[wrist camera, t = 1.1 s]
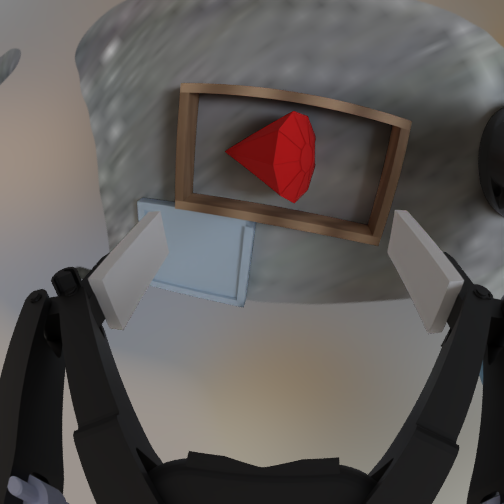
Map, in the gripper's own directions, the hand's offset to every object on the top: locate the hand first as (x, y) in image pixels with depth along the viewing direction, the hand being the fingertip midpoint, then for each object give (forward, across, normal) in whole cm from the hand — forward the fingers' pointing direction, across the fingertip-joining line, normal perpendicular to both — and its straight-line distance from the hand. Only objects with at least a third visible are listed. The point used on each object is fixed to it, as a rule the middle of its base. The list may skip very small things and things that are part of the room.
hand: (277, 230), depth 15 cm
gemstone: (+17, +1, 0) cm, 17 cm away
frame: (+17, -1, 0) cm, 17 cm away
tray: (+17, +11, +12) cm, 24 cm away
